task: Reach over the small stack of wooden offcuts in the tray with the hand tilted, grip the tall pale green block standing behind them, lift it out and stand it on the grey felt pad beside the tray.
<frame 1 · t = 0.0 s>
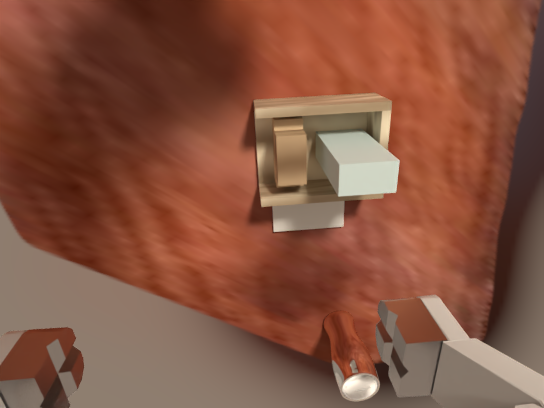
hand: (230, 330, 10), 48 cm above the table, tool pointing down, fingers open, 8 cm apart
pale green block: (338, 142, 57), point 1 cm above the table, touching tray
felt pad: (308, 214, 63), on the table
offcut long: (286, 146, 57), point 1 cm above the table, touching offcut short, tray
tray: (314, 142, 58), on the table
offcut short: (289, 154, 53), point 5 cm above the table, touching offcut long
beer glass: (338, 321, 74), on the table
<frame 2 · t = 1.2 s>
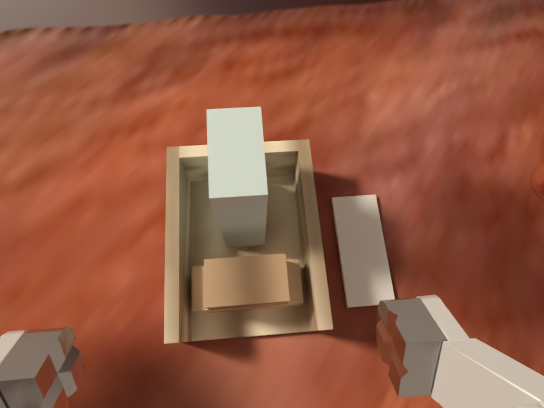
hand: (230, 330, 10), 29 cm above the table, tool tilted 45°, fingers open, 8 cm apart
pale green block: (244, 214, 41), point 1 cm above the table, touching tray
felt pad: (361, 249, 41), on the table
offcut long: (248, 289, 38), point 1 cm above the table, touching offcut short, tray
tray: (246, 248, 40), on the table
offcut short: (247, 284, 34), point 5 cm above the table, touching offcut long
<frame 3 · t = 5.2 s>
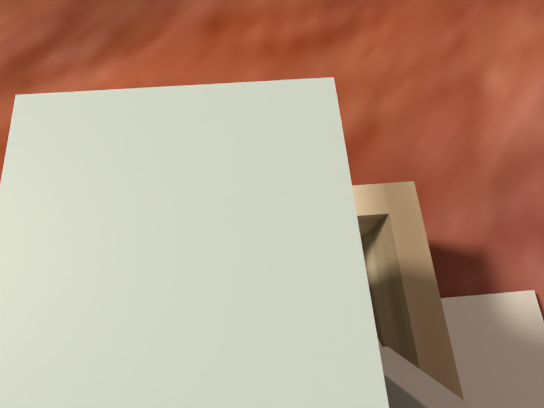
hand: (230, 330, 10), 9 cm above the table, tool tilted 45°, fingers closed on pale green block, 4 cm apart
pale green block: (246, 347, 18), point 1 cm above the table, touching gripper, tray
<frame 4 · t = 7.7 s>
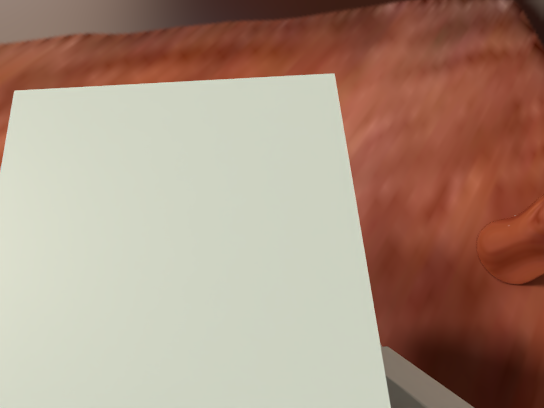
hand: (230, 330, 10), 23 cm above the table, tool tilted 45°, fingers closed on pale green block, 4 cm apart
pale green block: (245, 346, 18), point 15 cm above the table, touching gripper
beer glass: (506, 252, 35), on the table
when the fingers open (10 cm above the table, at t = 10.4 s): pale green block stays where it is, resting on felt pad.
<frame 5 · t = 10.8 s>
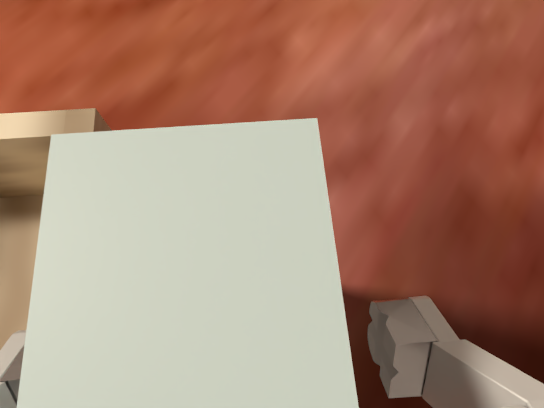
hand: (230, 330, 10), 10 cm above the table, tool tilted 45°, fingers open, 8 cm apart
pale green block: (245, 346, 19), point 1 cm above the table, touching felt pad
tray: (0, 347, 19), on the table
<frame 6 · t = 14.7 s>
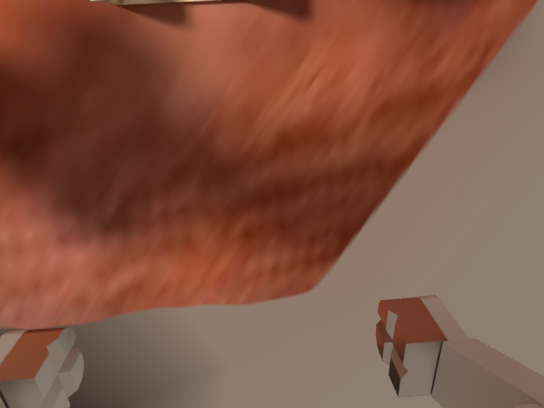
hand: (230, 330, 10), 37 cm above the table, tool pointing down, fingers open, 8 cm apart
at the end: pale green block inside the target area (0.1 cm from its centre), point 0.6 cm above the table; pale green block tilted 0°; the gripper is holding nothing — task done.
